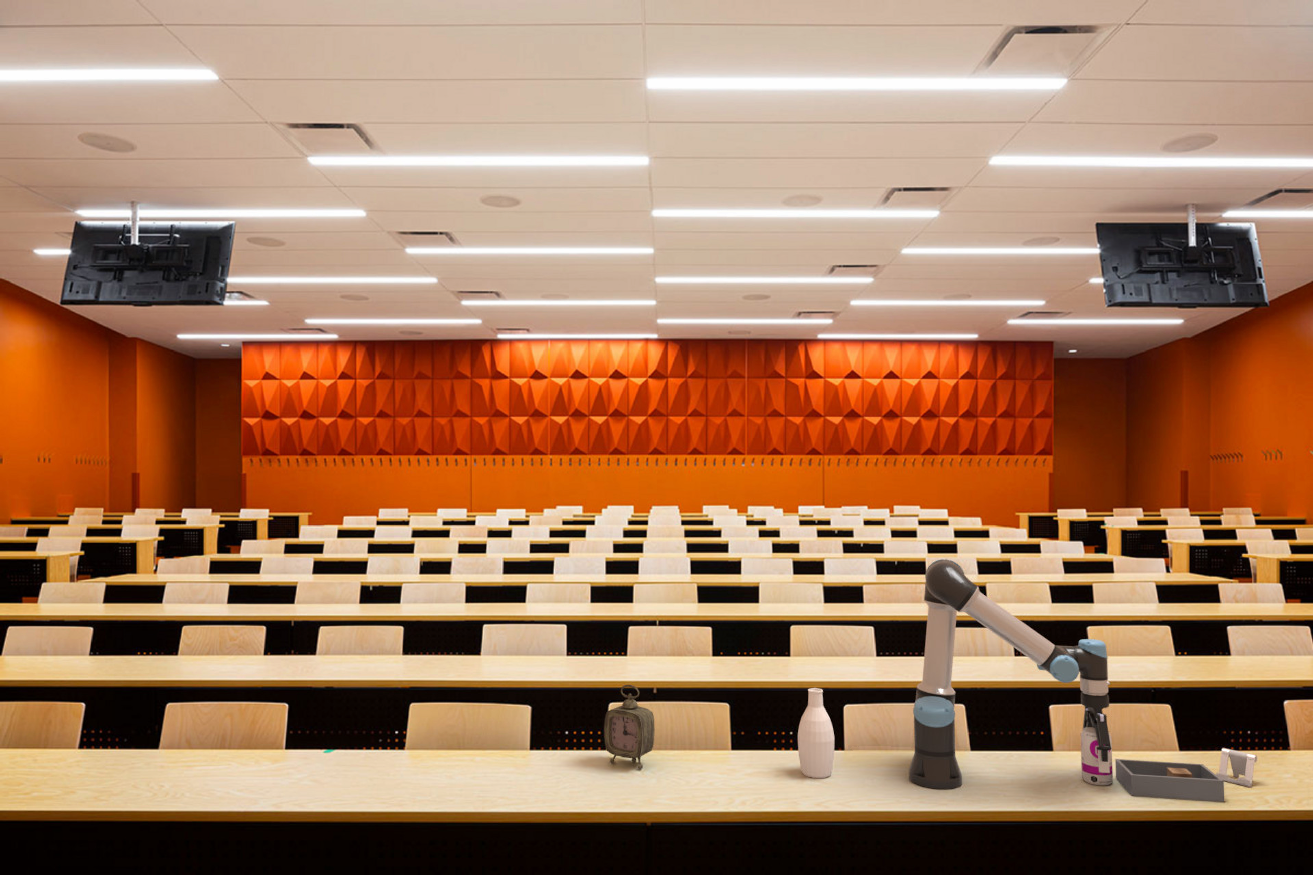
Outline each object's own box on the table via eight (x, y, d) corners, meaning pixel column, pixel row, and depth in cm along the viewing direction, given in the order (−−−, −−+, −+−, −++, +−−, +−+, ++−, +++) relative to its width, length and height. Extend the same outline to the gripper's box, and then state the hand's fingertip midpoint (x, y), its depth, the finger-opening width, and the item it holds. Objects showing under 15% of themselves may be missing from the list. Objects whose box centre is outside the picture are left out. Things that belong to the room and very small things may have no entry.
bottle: (820, 765, 272) (819, 684, 273) (842, 776, 262) (841, 691, 263) (790, 770, 267) (790, 687, 268) (812, 782, 257) (811, 695, 258)
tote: (1131, 795, 245) (1131, 774, 245) (1115, 778, 259) (1115, 758, 259) (1224, 801, 240) (1223, 780, 240) (1203, 784, 254) (1202, 764, 254)
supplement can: (1116, 787, 252) (1115, 734, 253) (1086, 785, 254) (1084, 733, 254) (1107, 777, 260) (1106, 727, 261) (1078, 775, 261) (1077, 725, 262)
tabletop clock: (603, 764, 274) (603, 684, 275) (619, 756, 281) (619, 679, 283) (642, 772, 266) (642, 690, 267) (657, 764, 274) (657, 684, 275)
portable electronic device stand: (1216, 779, 258) (1215, 751, 258) (1226, 774, 263) (1225, 746, 263) (1249, 788, 251) (1248, 758, 251) (1259, 782, 256) (1258, 753, 256)
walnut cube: (1173, 790, 246) (1172, 772, 247) (1167, 784, 251) (1166, 767, 252) (1193, 792, 245) (1192, 774, 246) (1186, 786, 250) (1185, 768, 250)
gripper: (1121, 703, 245) (1124, 779, 244) (1096, 683, 269) (1099, 752, 268) (1092, 702, 247) (1095, 777, 245) (1070, 682, 271) (1073, 751, 270)
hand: (1097, 764), depth 257 cm, fingers open, 13 cm apart
